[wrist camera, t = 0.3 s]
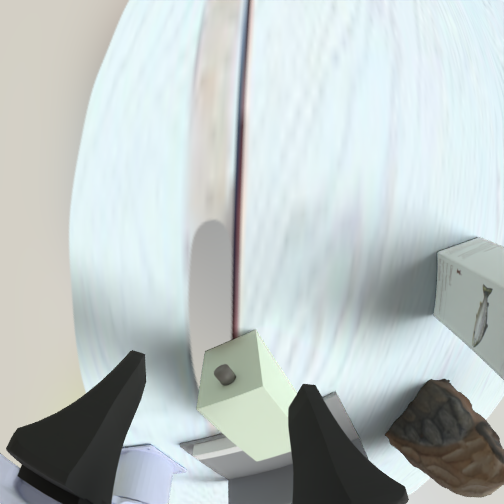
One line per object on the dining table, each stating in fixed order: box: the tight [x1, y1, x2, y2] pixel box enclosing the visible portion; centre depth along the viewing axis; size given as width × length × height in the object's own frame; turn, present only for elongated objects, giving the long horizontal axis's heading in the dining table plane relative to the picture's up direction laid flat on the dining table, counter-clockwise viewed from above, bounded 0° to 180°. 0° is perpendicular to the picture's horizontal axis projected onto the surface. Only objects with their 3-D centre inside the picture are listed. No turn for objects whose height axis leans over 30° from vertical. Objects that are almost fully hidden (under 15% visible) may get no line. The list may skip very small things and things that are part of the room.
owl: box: [385, 379, 504, 497], centre depth 18 cm, size 13×13×20 cm
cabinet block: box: [197, 329, 297, 461], centre depth 20 cm, size 5×10×7 cm, turn 28°
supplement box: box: [433, 237, 504, 380], centre depth 16 cm, size 7×7×13 cm
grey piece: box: [180, 392, 368, 504], centre depth 24 cm, size 20×13×7 cm, turn 117°
